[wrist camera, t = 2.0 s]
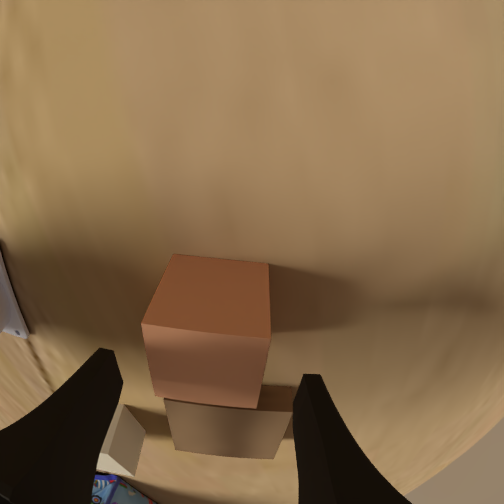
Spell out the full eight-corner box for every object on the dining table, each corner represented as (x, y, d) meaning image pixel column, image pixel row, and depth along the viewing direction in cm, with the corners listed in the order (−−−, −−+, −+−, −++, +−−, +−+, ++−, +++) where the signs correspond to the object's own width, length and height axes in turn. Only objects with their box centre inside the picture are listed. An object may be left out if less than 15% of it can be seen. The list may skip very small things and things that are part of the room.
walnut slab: (180, 425, 23) (175, 449, 21) (171, 370, 19) (163, 399, 17) (273, 434, 23) (273, 459, 21) (290, 381, 19) (293, 412, 17)
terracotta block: (176, 324, 17) (155, 395, 12) (173, 253, 15) (141, 323, 10) (257, 332, 17) (256, 408, 12) (268, 262, 15) (271, 338, 10)
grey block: (106, 426, 24) (92, 467, 20) (82, 399, 22) (64, 444, 17) (146, 430, 23) (134, 476, 19) (124, 403, 21) (107, 454, 17)
